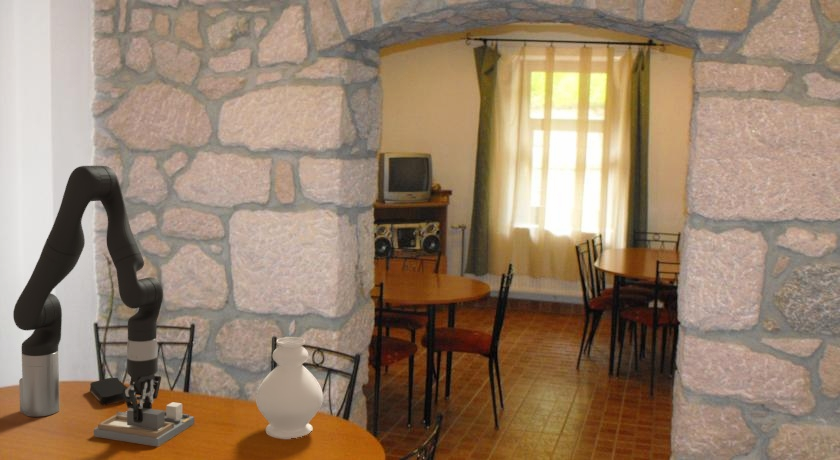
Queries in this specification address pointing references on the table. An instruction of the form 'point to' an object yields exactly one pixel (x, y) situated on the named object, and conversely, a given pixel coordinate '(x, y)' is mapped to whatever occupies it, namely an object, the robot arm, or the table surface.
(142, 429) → the switch board
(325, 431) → the table surface
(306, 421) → the decorative vase
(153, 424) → the grey block with bolt
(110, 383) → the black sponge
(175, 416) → the switch tab
